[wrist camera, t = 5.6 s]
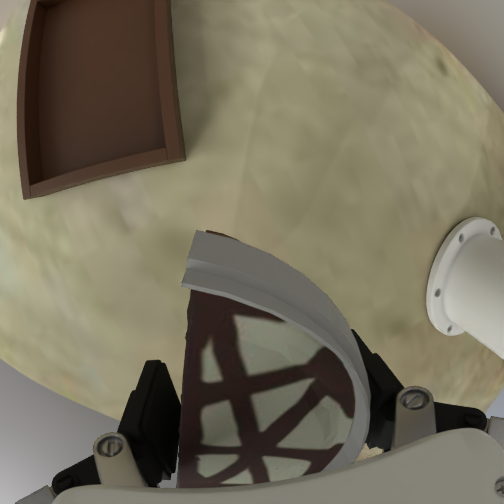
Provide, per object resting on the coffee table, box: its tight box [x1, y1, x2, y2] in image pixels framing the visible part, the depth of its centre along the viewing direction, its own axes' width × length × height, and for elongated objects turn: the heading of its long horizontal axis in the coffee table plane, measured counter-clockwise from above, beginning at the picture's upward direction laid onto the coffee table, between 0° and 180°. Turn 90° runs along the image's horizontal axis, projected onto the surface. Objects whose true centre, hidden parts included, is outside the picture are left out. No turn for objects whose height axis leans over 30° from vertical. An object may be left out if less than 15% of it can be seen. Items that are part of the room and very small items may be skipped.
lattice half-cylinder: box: [176, 230, 371, 488], centre depth 11 cm, size 12×6×10 cm, turn 169°
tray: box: [17, 0, 186, 200], centre depth 14 cm, size 12×18×3 cm, turn 7°
